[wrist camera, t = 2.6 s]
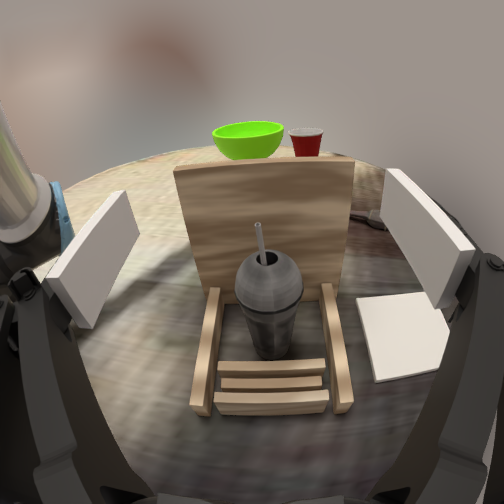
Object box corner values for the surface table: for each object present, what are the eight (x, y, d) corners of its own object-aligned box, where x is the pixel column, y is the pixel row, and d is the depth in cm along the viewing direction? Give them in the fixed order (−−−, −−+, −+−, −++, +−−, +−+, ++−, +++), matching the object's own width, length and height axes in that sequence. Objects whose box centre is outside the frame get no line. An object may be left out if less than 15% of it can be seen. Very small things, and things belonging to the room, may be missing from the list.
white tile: (458, 363, 28) (461, 361, 28) (374, 383, 30) (376, 380, 29) (429, 294, 39) (431, 290, 39) (355, 301, 40) (356, 298, 40)
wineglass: (299, 197, 67) (298, 127, 56) (249, 222, 60) (241, 142, 49) (257, 179, 78) (252, 118, 66) (210, 200, 70) (198, 133, 59)
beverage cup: (307, 334, 37) (319, 206, 24) (284, 377, 32) (286, 252, 20) (261, 317, 40) (249, 192, 28) (235, 355, 35) (204, 230, 23)
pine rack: (356, 411, 27) (434, 280, 13) (188, 414, 29) (97, 292, 15) (330, 275, 46) (342, 146, 32) (212, 279, 47) (185, 155, 34)
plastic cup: (299, 158, 90) (298, 124, 82) (328, 164, 84) (329, 129, 77) (282, 168, 83) (280, 131, 76) (313, 175, 78) (314, 136, 70)
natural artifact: (404, 241, 53) (406, 235, 50) (312, 210, 64) (309, 202, 60) (409, 226, 54) (411, 218, 50) (318, 196, 64) (315, 187, 61)
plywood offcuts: (323, 412, 28) (329, 399, 25) (221, 414, 29) (213, 401, 26) (319, 375, 32) (324, 358, 29) (224, 377, 33) (218, 361, 30)
